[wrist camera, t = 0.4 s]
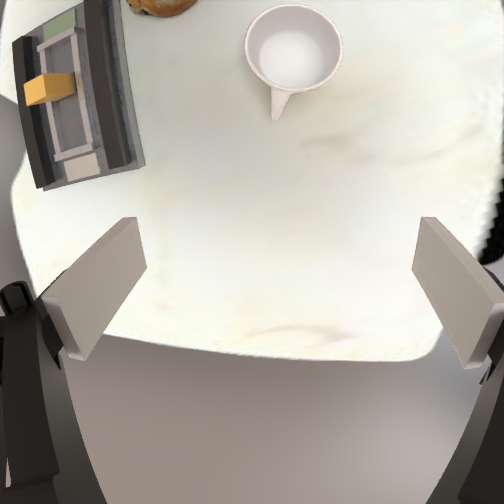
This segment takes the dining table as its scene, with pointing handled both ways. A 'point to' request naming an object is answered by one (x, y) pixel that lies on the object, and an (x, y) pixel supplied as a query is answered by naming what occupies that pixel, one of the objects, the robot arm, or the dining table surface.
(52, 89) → the lever
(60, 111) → the panel
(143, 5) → the bread roll
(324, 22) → the mug
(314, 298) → the dining table surface
